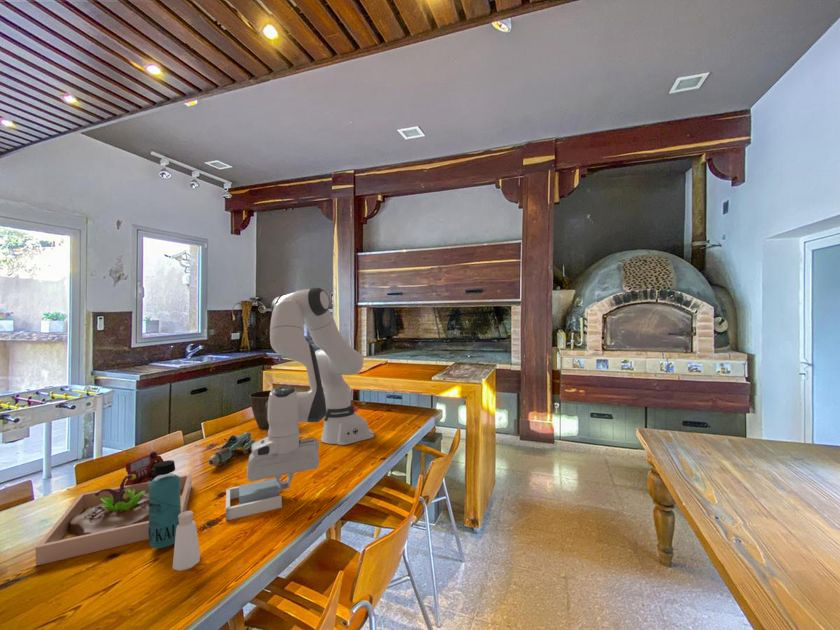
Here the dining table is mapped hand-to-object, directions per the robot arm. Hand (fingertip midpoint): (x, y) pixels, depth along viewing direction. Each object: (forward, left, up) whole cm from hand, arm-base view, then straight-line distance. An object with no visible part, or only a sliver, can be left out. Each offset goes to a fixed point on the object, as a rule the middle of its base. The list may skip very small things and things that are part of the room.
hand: (284, 488), depth 111 cm
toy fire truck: (+38, -27, -3) cm, 47 cm away
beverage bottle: (+28, +12, -3) cm, 31 cm away
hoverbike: (+14, -41, -3) cm, 43 cm away
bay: (+8, 0, -2) cm, 8 cm away
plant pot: (-1, -75, -3) cm, 75 cm away
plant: (+40, -9, -3) cm, 42 cm away
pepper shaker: (+23, +21, -3) cm, 31 cm away
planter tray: (+39, -7, -2) cm, 40 cm away
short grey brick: (+7, 0, -2) cm, 8 cm away
